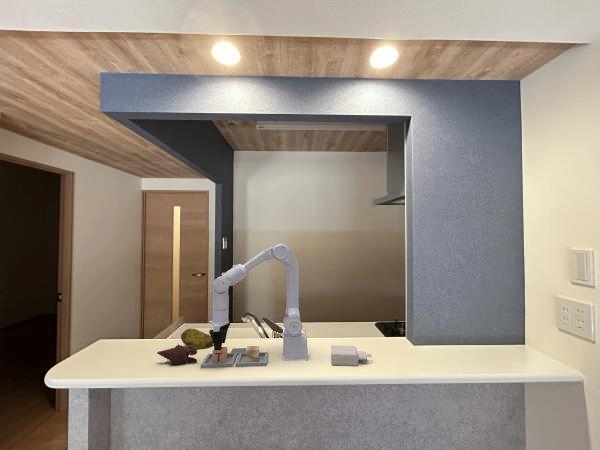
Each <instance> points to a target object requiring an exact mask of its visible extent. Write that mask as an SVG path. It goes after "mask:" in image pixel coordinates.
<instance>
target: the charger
mask: <svg viewBox="0 0 600 450" xmlns="http://www.w3.org/2000/svg"><path fill="white" fill-rule="evenodd" d="M368 358H373V355H372V354H369V353H367V352H366V351H359V350H358V349H357V347H356V346H354V345H336V344H335V345H334V344H333V345H332V344H331V345H330V364H331V366H348V367H349V366H351V367H353V366H354V367H357V366H358V365H359V361H367V360H368Z"/></svg>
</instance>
